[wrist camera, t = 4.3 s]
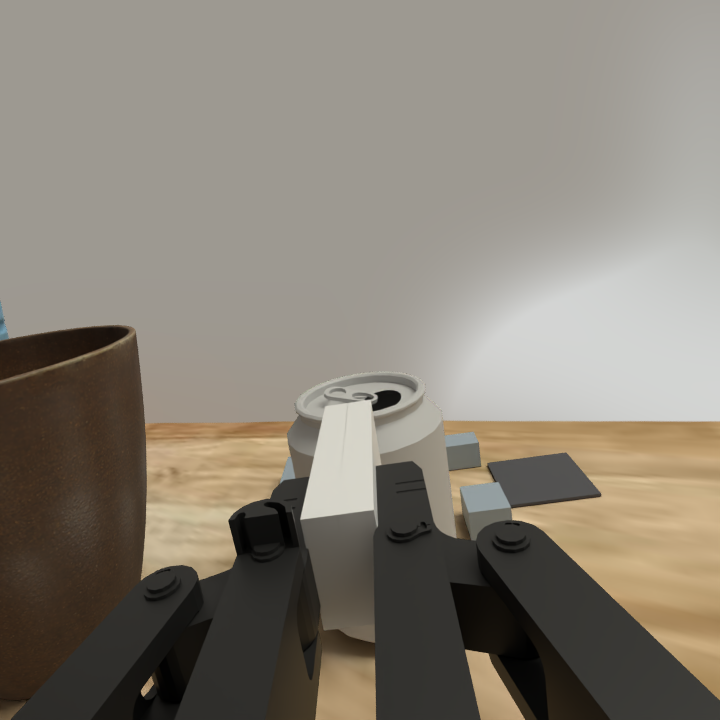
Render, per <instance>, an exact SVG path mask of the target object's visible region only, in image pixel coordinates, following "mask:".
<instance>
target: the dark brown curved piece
mask: <svg viewBox="0 0 720 720" xmlns="http://www.w3.org/2000/svg"><path fill="white" fill-rule="evenodd" d="M146 492H147V473H146V435H145V419H144V405H143V394H142V384H141V374H140V365H139V355H138V346H137V339H136V331H135V329H134V328H132V327H129V326H121V325H107V326H92V327H83V328H74V329H67V330H59V331H52V332H47V333H40V334H34V335H28V336H23V337H16V338H11V339H6V340H0V699H6V700H20V699H28V698H31V697H32V696H33V695H34V694H35V693H36V692H37V691H38V690H39V689H40V688H41V686H42V685H43V684H44V683H45V682H46V681H47V680H48V679H49V678H50V677H51V676H52V675H53V674H54V672H55V671H56V670H57V669H58V668H59V667H60V666H61V665H62V664H63V663H64V662H65V661H66V660H67V659H68V657H69V656H70V655H71V654H72V653H73V652H74V651H75V650H76V649H77V648H78V647H79V646H80V645H81V643H82V642H83V641H84V640H85V639H86V638H87V637H88V636H89V635H90V634H91V633H92V632H93V631H94V630H95V628H96V627H97V626H98V625H99V624H100V623H101V622H102V621H103V620H104V619H105V618H106V617H107V616H108V614H109V613H110V612H111V611H112V610H113V609H114V608H115V607H116V606H117V605H118V604H119V603H120V602H121V601H122V599H123V598H124V597H125V596H126V595H127V594H128V593H129V592H130V591H131V590H132V589H133V588H134V587H135V586H136V585H137V584H138V583H139V582H140V581H141V572H142V563H143V551H144V539H145V524H146Z"/></svg>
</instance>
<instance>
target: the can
mask: <svg viewBox="0 0 720 720" xmlns="http://www.w3.org/2000/svg"><path fill="white" fill-rule="evenodd" d="M424 394H425V384H424V383H423V382H422V381H421V380H420V379H419V378H418V377H415V376H412V375H409V374H407V373H399V372H369V373H359V374H354V375H349V376H344V377H339V378H337V379H333V380H329V381H326V382H323V383H321V384H319V385H317V386H314V387H312V388H310V389H309V390H307V391H306V392H304V393H303V394H302V395H301V396H300V397H299V398H298V400H297V401H296V402H295V410H296V413H297V414H298V415H299V416H298V417H297V419H296V421H295V422H294V424H293V425H292V427H291V428H290V430H289V431H288V433H287V437H288V445H289V450H290V454H291V459H292V464H293V469H294V474H295V478H302V477H310V473H311V468H312V464H313V459H314V455H315V450H316V446H317V441H318V437H319V432H320V428H321V423H322V418H323V414H324V409H325V406H330V405H337V404H344V403H351V402H358V401H365V400H371V404H372V410H373V416H374V422H375V429H376V435H377V441H378V447H379V453H380V460H381V465H386V464H393V463H400V462H407V461H413V462H414V463H415V464H417V465H418V466H419V467H420V468H422V471H423V476H424V481H425V485H426V490H427V494H428V498H429V502H430V507H431V511H432V516H433V520H434V523H435V525H436V527H437V528H438V529H439V530H440V531H441V532H443V533H445V534H446V535H448V536H451V537H454V538H457V537H456V528H455V520H454V511H453V503H452V494H451V486H450V477H449V468H448V460H447V451H446V443H445V434H444V426H443V417H442V410H441V409H440V408H439V407H438V406H437V405H436V404H435V403H434V402H433V401H431V400H430V399H429V398H427V397H426V396H425V395H424ZM339 630H340V631H342V632H343V633H345V634H346V635H348V636H349V637H353V638H357V639H360V640H364V641H368V642H373V643H375V624H374V625H366V626H358V627H349V628H341V629H339Z"/></svg>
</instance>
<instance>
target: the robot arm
mask: <svg viewBox="0 0 720 720" xmlns="http://www.w3.org/2000/svg"><path fill="white" fill-rule="evenodd" d="M4 321H5V320H4V316H3V312H2V306H1V302H0V340H6V339H9V338H8V333H7V329H6V326H5V323H4ZM228 521H229V525H230V529H231V533H232V537H233V541H234V545H235V549H236V553H237V557H236V559H235V562H234V565H233V567H232V568H231V569H230V570H227V571H225V572H222V573H220V574H217V575H214V576H211V577H208V578H206V579H203V580H200V581H199V578H198V575H197V572H196V571H195V570H194V569H193V568H192V567H188V566H184V565H179V566H170V567H166V568H164V569H160V570H157V571H156V572H154V573H152V574H151V575H149V576H147V577H145V578H144V579H143V580H142V581H140V582H139V583H138V584H137V585H136V586H135V587H134V588H133V589H132V590H131V591H130V592H129V593H128V594H127V595H126V596H125V597H124V598H123V599H122V601H121V602H120V603H119V604H118V605H117V606H116V607H115V608H114V609H113V610H112V611H111V612H110V613H109V614H108V616H107V617H106V618H105V619H104V620H103V621H102V622H101V623H100V624H99V625H98V626H97V627H96V628H95V630H94V631H93V632H92V633H91V634H90V635H89V636H88V637H87V638H86V639H85V640H84V641H83V642H82V643H81V645H80V646H79V647H78V648H77V649H76V650H75V651H74V652H73V653H72V654H71V655H70V656H69V657H68V659H67V660H66V661H65V662H64V663H63V664H62V665H61V666H60V667H59V668H58V669H57V670H56V671H55V672H54V674H53V675H52V676H51V677H50V678H49V679H48V680H47V681H46V682H45V683H44V684H43V685H42V686H41V688H40V689H39V690H38V691H37V692H36V693H35V694H34V695H33V696H32V697H31V698H30V699H29V700H28V701H27V703H26V704H25V705H24V706H23V707H22V708H21V709H20V710H19V711H18V712H17V713H16V714H15V715H14V717H13V718H12V719H11V720H315V716H316V706H317V696H318V686H319V676H320V666H321V655H322V647H321V641H320V636H319V631H318V624H319V615H321V620H322V624H323V629H324V631H325V630H333V629H341V628H349V627H358V626H366V625H374V624H375V673H376V720H481V719H480V715H479V710H478V706H477V701H476V697H475V693H474V688H473V684H472V679H471V675H470V670H469V666H468V662H467V657H466V653H465V650H471V651H478V652H484V653H489V656H490V659H491V662H492V664H493V666H494V668H495V669H496V671H497V673H498V674H499V676H500V678H501V680H502V681H503V683H504V685H505V686H506V688H507V690H508V691H509V693H510V695H511V696H512V698H513V700H514V701H515V703H516V705H517V706H518V708H519V710H520V711H521V713H522V715H523V716H524V718H525V720H720V700H719V699H718V698H717V697H715V696H714V695H713V694H712V693H711V692H710V691H709V690H708V689H707V688H706V687H705V686H704V685H703V684H702V683H701V682H700V681H699V680H698V679H697V678H696V677H695V676H694V675H693V674H691V673H690V672H689V671H688V670H687V669H686V668H685V667H684V666H683V665H682V664H681V663H680V662H679V661H678V660H677V659H676V658H675V657H674V656H673V655H672V654H671V653H670V652H669V651H667V650H666V649H665V648H664V647H663V646H662V645H661V644H660V643H659V642H658V641H657V640H656V639H655V638H654V637H653V636H652V635H651V634H650V633H649V632H648V631H647V630H646V629H645V628H643V627H642V626H641V625H640V624H639V623H638V622H637V621H636V620H635V619H634V618H633V617H632V616H631V615H630V614H629V613H628V612H627V611H626V610H625V609H624V608H623V607H622V606H621V605H619V604H618V603H617V602H616V601H615V600H614V599H613V598H612V597H611V596H610V595H609V594H608V593H607V592H606V591H605V590H604V589H603V588H602V587H601V586H600V585H599V584H598V583H597V582H596V581H594V580H593V579H592V578H591V577H590V576H589V575H588V574H587V573H586V572H585V571H584V570H583V569H582V568H581V567H580V566H579V565H578V564H577V563H576V562H575V561H574V560H573V559H572V558H570V557H569V556H568V555H567V554H566V553H565V552H564V551H563V550H562V549H561V548H560V547H559V546H558V545H557V544H556V543H555V542H554V541H553V540H552V539H551V538H550V537H549V536H548V535H546V534H545V533H544V532H543V531H542V530H540V529H539V528H537V527H536V526H534V525H532V524H529V523H526V522H522V521H514V520H513V521H512V520H506V521H499V522H494V523H492V524H490V525H487V526H485V527H484V528H483V529H482V530H481V531H480V532H479V533H478V534H477V538H476V541H474V540H464V539H458V538H454V537H451V536H448V535H446V534H445V533H443V532H441V531H440V530H439V529H438V528H437V527H436V525H435V523H434V520H433V516H432V511H431V507H430V502H429V498H428V494H427V490H426V485H425V481H424V476H423V471H422V468H420V467H419V466H418V465H417V464H415V463H414V462H413V461H407V462H400V463H393V464H386V465H381V460H380V453H379V447H378V441H377V435H376V429H375V422H374V416H373V410H372V404H371V400H365V401H358V402H351V403H344V404H337V405H330V406H325V409H324V414H323V418H322V423H321V428H320V432H319V437H318V441H317V446H316V450H315V455H314V459H313V464H312V468H311V473H310V477H302V478H295V479H288V480H283V481H282V482H281V483H280V484H279V485H278V486H277V487H276V488H275V489H274V490H273V492H272V495H271V498H270V499H264V500H260V501H256V502H253V503H250V504H248V505H246V506H244V507H242V508H240V509H239V510H238V511H236V512H235V513H234V514H233V515H232V516H231V518H230V519H229V520H228ZM151 676H152V679H153V682H154V685H153V686H152V688H151V689H150V690H149V692H148V693H147V694H146V695H145V696H144V697H143V696H142V694H141V689H142V688H143V686H144V685H145V684H146V682H147V681H148V679H149V678H150V677H151Z"/></svg>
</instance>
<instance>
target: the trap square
mask: <svg viewBox="0 0 720 720" xmlns="http://www.w3.org/2000/svg"><path fill="white" fill-rule="evenodd" d="M487 464H488V467H489V469H490V471H491V473H492V475H493V477H494V480H495V482H499V484H500V486H501V488H502V490H503V492H504V494H505V496H506V498H507V500H508V502H509V504H510V506H511V508H513V507H521V506H529V505H537V504H545V503H552V502H560V501H568V500H576V499H584V498H592V497H599V496H601V493H600V492H599V491H598V489H597V488H596V487H595V486H594V485H593V483H592V482H591V481H590V480H589V479H588V478H587V476H586V475H585V474H584V473H583V472H582V470H581V469H580V468H579V467H578V466H577V465H576V463H575V462H574V461H573V460H572V459H571V457H570V456H569V455H568V454H567V453H559V454H552V455H544V456H537V457H529V458H522V459H514V460H506V461H499V462H491V463H487Z"/></svg>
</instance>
